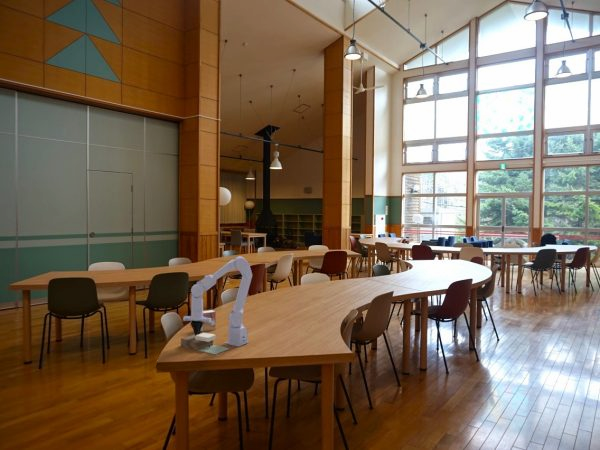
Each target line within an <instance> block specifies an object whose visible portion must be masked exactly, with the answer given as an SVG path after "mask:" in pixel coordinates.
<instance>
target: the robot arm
mask: <svg viewBox="0 0 600 450" xmlns="http://www.w3.org/2000/svg"><path fill="white" fill-rule="evenodd" d="M236 269H237V270H238V271H239V273H240V274H241V281H240V284H239V286H238V290H237V294H236V299H235V301H234V305H233V307H232V310H231V312H229V314H228V320H229V324H228V328H227V329H228V331H227V332H228V333H227V334H228V340H227V341H224V344H225V345H230V346H235V347H241V346H243V345H244V346H245V345H246V344H248V343H249V341H248V329H247V328H246V327H245V326H244V325H243V314H244V306H245V303H246V300H247V296H248V293H249V289H250V287H251V286H250V285H251V282H252V279H253V273H252V269H251V266H250V263H249V262H248V260H247V259H246V258H245V257H243V256H240V255H239V256H236V257H235V258H233V259H231V260H229V261H228V262H227V263H225V264H224V265H223V266H221V267H220V269H218V270H217V271H216V272H214V273H213V274H205V275H204V278H202V279H201V280H200V281H197V282H196V284H193V286H191V289H190V292H191V296H190V297H191V301H190V302H191V304H190V306H191V307H190V308H191V309H190V311H191V312H190V315H188V316H187V315H184V316H183V318H182V321H183V322H186V321H187V322H190V324H189V325H190V326H191V328H192V330H193V334H195V336H196V335H198V334H201V332H202V331H201V328H202V325H203V323H204V322H208V323H210V322H211V318H207V317H203V311H204V299H203V296H204V292H207V291H209V289H211V288H212V287H214V286H215V285H216V284H217V280H218V279H220V278H221V277H222V276H224V275H226V274H227V273H228V272H230V271H236Z"/></svg>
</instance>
